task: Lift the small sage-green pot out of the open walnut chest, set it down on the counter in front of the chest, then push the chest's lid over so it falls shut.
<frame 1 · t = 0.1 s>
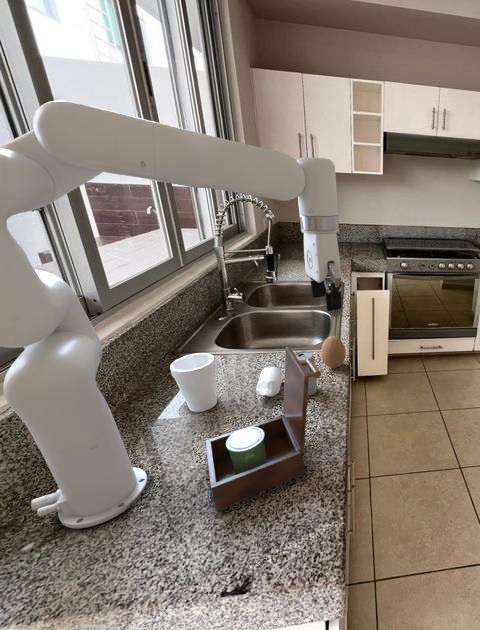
hand: (326, 302, 76), 31 cm above the counter, tool pointing down, fingers open, 9 cm apart
chest: (257, 470, 72), on the counter
pot: (251, 469, 71), point 1 cm above the counter, touching chest
egg: (334, 367, 111), on the counter
roll: (270, 394, 97), on the counter
foam cup: (203, 405, 91), on the counter
energy drink: (307, 393, 97), on the counter
lid: (303, 394, 72), point 15 cm above the counter, hinge at 98.9°
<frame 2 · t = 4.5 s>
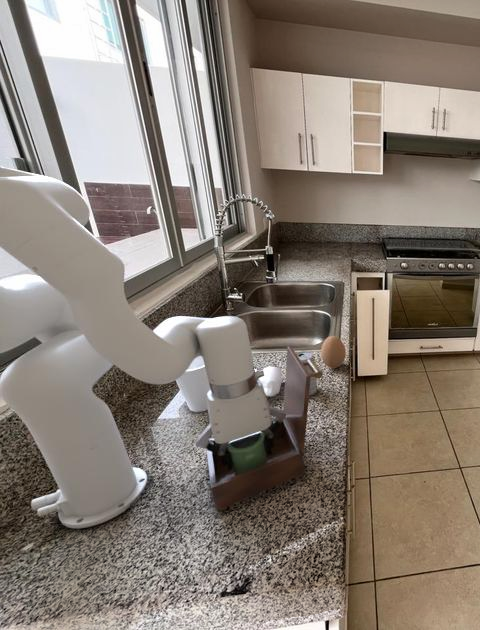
hand: (249, 457, 69), 4 cm above the counter, tool pointing down, fingers closed on pot, 6 cm apart
pot: (251, 469, 71), point 1 cm above the counter, touching chest, gripper
lid: (304, 394, 72), point 15 cm above the counter, hinge at 100.0°
everything else where it was.
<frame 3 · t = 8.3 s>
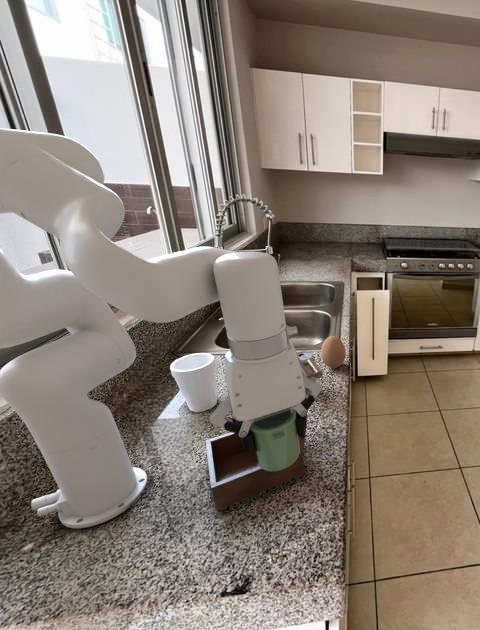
hand: (276, 440, 55), 18 cm above the counter, tool pointing down, fingers closed on pot, 6 cm apart
pot: (279, 455, 56), point 15 cm above the counter, touching gripper
everything else where it was.
when the fingers open (3 cm above the counter, at t = 12.1 s): pot stays where it is, on the counter.
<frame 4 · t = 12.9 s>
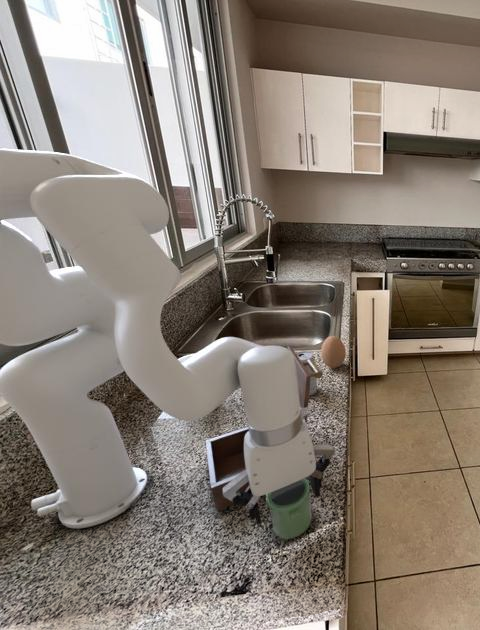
hand: (287, 503, 59), 5 cm above the counter, tool pointing down, fingers open, 9 cm apart
pot: (293, 524, 61), on the counter
everything else where it was.
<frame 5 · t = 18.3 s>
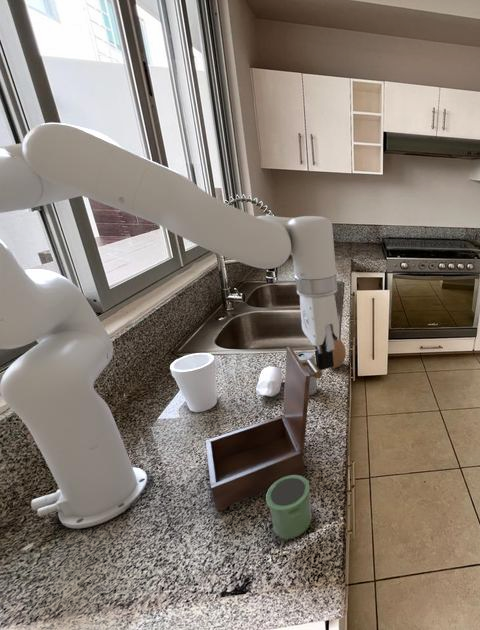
hand: (325, 366, 72), 20 cm above the counter, tool pointing down, fingers closed
lid: (304, 394, 72), point 15 cm above the counter, hinge at 99.6°
everything else where it was.
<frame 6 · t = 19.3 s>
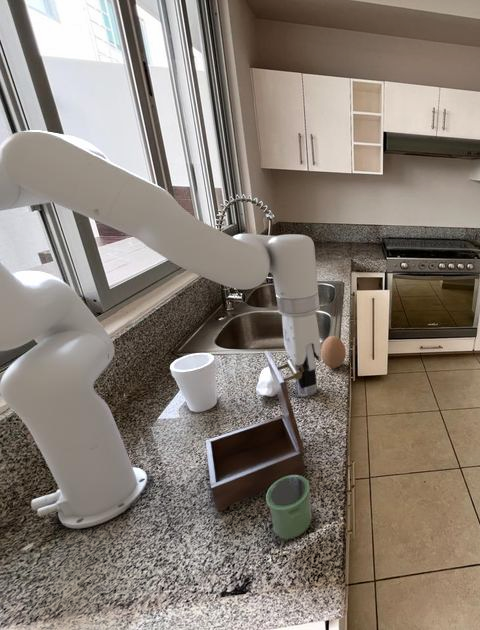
hand: (307, 384, 71), 17 cm above the counter, tool pointing down, fingers closed
lid: (293, 395, 70), point 15 cm above the counter, hinge at 83.8°
everything else where it was.
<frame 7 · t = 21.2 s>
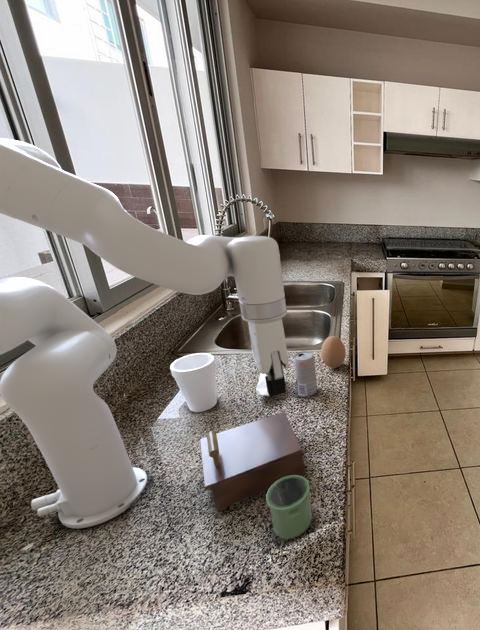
hand: (277, 392, 68), 17 cm above the counter, tool pointing down, fingers closed
lid: (248, 438, 68), point 9 cm above the counter, hinge at -0.1°
everything else where it was.
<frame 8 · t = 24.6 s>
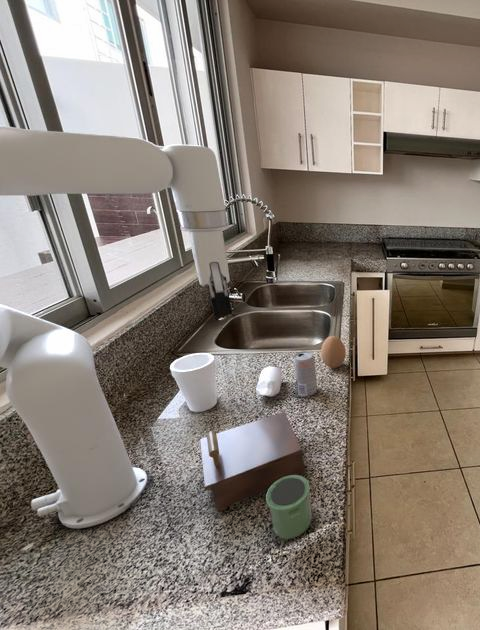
hand: (223, 313, 69), 31 cm above the counter, tool pointing down, fingers closed
nothing on the counter moved.
at the end: pot inside the target area (0.1 cm from its centre), on the counter; pot tilted 0°; lid at +0° (first picture: +99°) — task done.
